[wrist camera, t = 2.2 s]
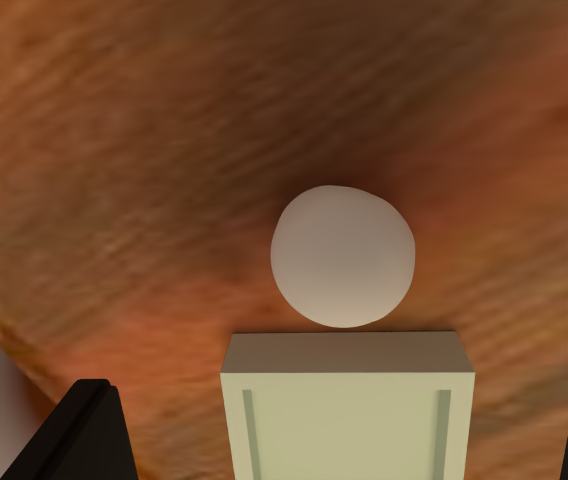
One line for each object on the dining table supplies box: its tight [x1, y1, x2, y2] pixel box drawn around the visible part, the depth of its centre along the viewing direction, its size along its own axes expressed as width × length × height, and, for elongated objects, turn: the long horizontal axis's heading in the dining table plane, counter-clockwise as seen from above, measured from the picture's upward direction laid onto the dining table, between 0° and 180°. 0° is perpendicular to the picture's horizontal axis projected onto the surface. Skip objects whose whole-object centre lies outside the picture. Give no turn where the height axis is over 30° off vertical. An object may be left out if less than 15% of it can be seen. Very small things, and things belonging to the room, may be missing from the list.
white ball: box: [271, 185, 415, 328], centre depth 16 cm, size 5×5×5 cm
